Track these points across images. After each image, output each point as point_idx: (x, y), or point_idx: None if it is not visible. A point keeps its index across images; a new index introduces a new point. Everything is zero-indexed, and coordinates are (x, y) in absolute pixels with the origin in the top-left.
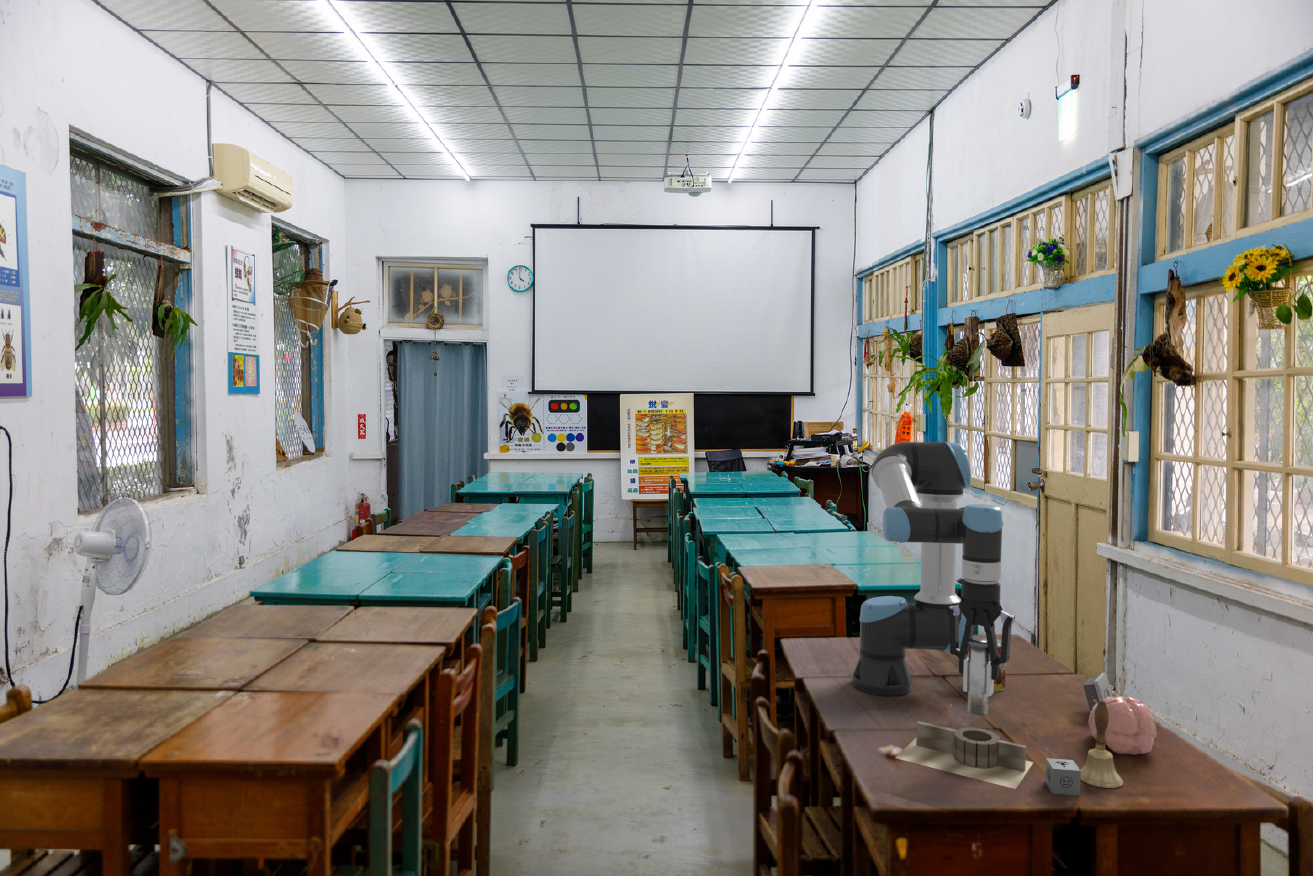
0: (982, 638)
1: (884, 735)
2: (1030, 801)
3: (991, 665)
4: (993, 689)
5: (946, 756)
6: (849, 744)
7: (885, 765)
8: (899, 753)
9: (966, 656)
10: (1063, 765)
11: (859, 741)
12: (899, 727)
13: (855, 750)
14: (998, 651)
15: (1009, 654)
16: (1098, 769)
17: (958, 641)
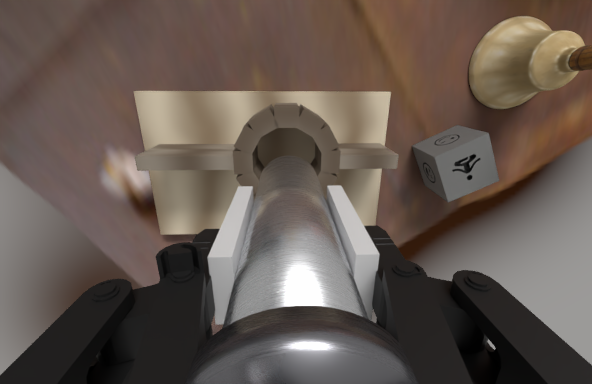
0: (309, 378)
1: (67, 109)
2: (394, 232)
3: (371, 304)
4: (343, 191)
5: (233, 171)
6: (50, 200)
7: (157, 243)
8: (157, 212)
9: (208, 291)
10: (468, 174)
11: (53, 174)
12: (58, 32)
13: (78, 218)
14: (443, 316)
15: (521, 305)
16: (527, 93)
17: (85, 365)
